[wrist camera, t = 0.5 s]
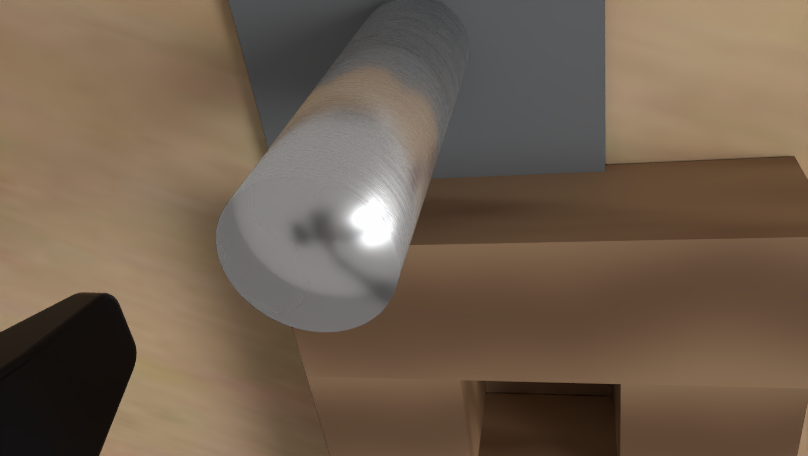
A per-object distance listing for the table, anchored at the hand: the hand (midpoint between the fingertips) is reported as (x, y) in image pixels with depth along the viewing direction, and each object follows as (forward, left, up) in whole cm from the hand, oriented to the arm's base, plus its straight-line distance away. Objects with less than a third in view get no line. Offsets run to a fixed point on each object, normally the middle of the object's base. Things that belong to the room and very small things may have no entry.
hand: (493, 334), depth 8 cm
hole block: (-12, 0, -13) cm, 18 cm away
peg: (-1, +3, -13) cm, 13 cm away
